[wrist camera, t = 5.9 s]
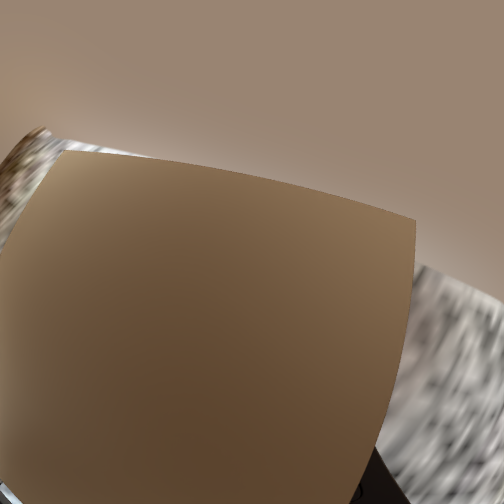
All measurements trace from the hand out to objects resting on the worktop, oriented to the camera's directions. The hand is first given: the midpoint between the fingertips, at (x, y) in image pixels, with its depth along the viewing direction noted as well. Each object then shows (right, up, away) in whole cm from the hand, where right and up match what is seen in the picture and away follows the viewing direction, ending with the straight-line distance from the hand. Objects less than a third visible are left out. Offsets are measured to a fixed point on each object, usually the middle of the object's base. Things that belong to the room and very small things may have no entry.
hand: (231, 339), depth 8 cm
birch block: (0, -4, +6) cm, 7 cm away
